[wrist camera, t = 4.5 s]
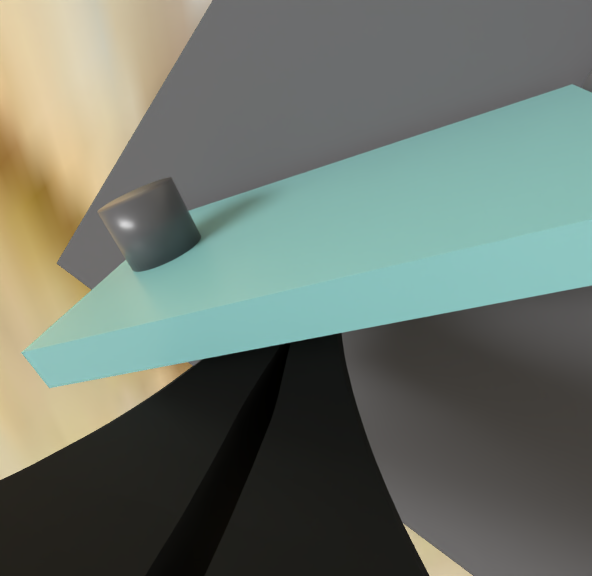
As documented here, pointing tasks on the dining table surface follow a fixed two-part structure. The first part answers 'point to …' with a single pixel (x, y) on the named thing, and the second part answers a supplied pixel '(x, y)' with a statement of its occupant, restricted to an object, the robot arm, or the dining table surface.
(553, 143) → the side door
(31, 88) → the dining table surface
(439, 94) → the mat
